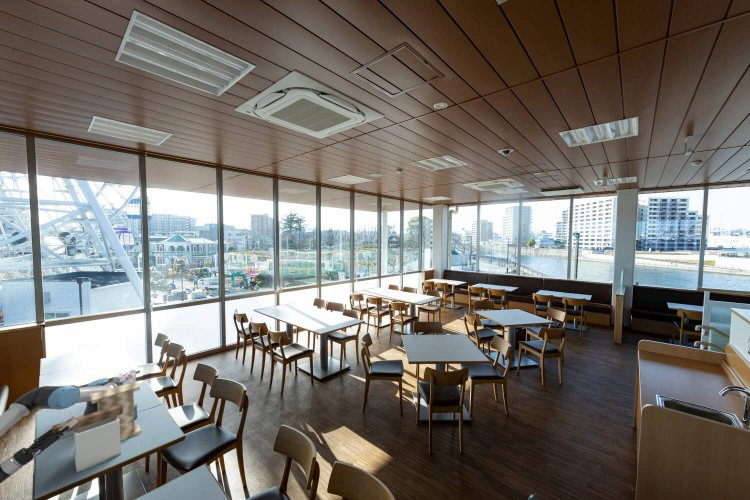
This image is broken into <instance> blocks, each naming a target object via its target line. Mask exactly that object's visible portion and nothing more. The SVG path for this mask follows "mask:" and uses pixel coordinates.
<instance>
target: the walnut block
mask: <svg viewBox="0 0 750 500" xmlns="http://www.w3.org/2000/svg"><path fill="white" fill-rule="evenodd" d="M120 414H123V406H122V404H120V405H117V406H114V407H111V408H107V409H104V410H101V411H98V412H95V413H91V414H88V415H85V416H83V415H82V416H79V417H76V419H75V420H76V421H77V422H78V423H77V424H75V425H74V426H72V427H71V428H70V429H68V430H67V431H66V432H64V433H62V434H65V433H68V432H71V431H74V430H75V429H78V428H81V427H84V426H87V425H90V424H93V423H96V422H99V421H102V420H105V419H108V418H111V417H114V416H117V415H120ZM72 420H73V419H72ZM72 420H69V421H66V420H65V421H66V422H65V421H62V422H60V423H57V424H54V425H51V429H52V435H53V434H55V433H56V432H58V431H59V429H61V428H62V427H63V426H65V425H66V424H68V423H69V422H70V421H72Z"/></svg>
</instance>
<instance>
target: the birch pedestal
mask: <svg viewBox="0 0 750 500" xmlns="http://www.w3.org/2000/svg"><path fill="white" fill-rule="evenodd" d="M140 390H141V387H140V384H139V383H138V382H137V381H136V382H133V383H129V384H125V385H122V386H118V387H115V388H111V389H107V390H104V391H100V392H97V393H93V394H90V399H91V402H92V404H94V403H97V405H98V411H101V410H104V409H107V408H111V407H114V406H117V405H120V404H122V406H123V414H120V415H118V417H119V420H120V442H122V441H124V440H128V439H130V438H133V437H135V436H138V435H141V434H142V429H141V427H140V425H139V423H136V424H135V421H134V405H135V403H134V402H135V401H134V400H135V399H134V396H135V395H134V392H137V391H140Z"/></svg>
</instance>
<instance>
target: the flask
mask: <svg viewBox="0 0 750 500" xmlns="http://www.w3.org/2000/svg"><path fill="white" fill-rule="evenodd" d="M137 419H138V405H137V404H136V403H134V422H135V421H136V420H137Z"/></svg>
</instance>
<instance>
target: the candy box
mask: <svg viewBox="0 0 750 500" xmlns="http://www.w3.org/2000/svg"><path fill="white" fill-rule="evenodd" d="M112 382H129V383H133V382H137V370H136V369H128V370H126V371H124V372H121V373H119V374H117V375H115V376H112Z"/></svg>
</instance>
